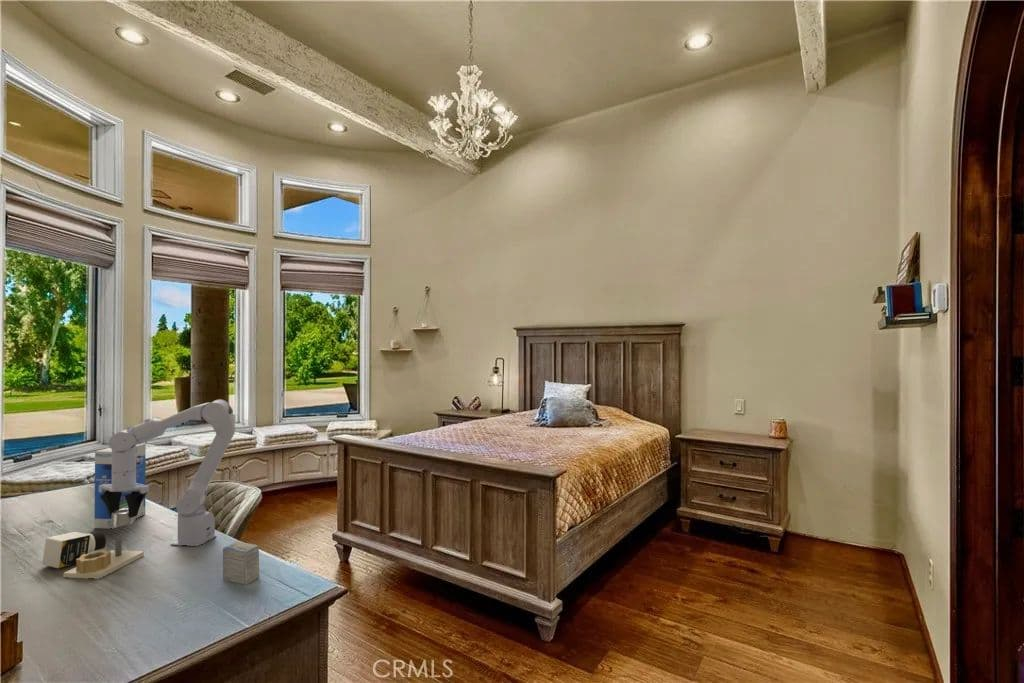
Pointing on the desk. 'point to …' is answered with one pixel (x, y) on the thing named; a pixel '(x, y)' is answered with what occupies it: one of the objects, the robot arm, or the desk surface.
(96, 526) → the string lights box
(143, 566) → the desk surface
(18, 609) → the desk surface
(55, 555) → the medicine bottle
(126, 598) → the desk surface
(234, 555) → the beige wooden block
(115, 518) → the steel gear
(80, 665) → the desk surface
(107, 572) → the gear board
